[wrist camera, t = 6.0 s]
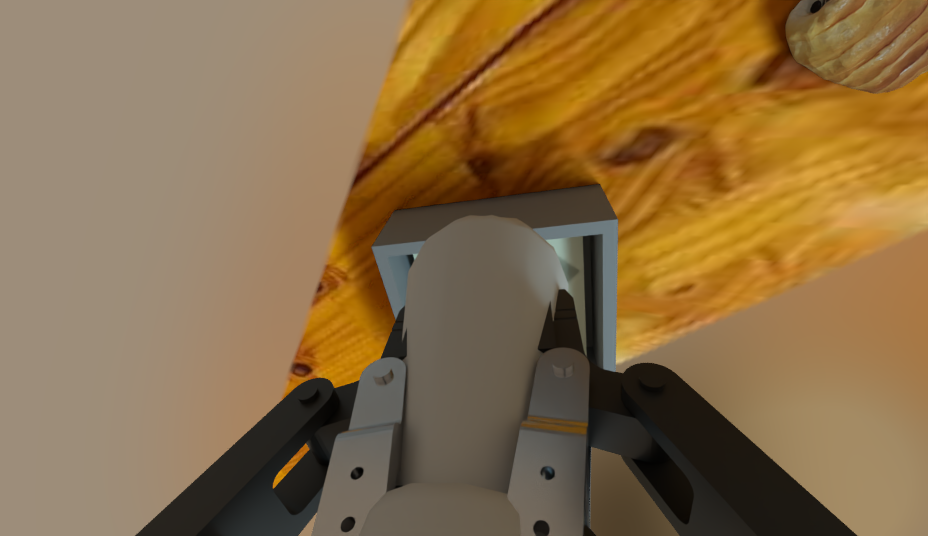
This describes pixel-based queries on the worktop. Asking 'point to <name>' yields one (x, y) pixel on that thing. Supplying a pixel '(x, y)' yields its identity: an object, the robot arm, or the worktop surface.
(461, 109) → the worktop surface
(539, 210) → the bore box
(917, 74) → the ridged seashell
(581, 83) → the worktop surface
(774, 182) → the worktop surface
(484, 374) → the salt shaker
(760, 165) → the worktop surface
